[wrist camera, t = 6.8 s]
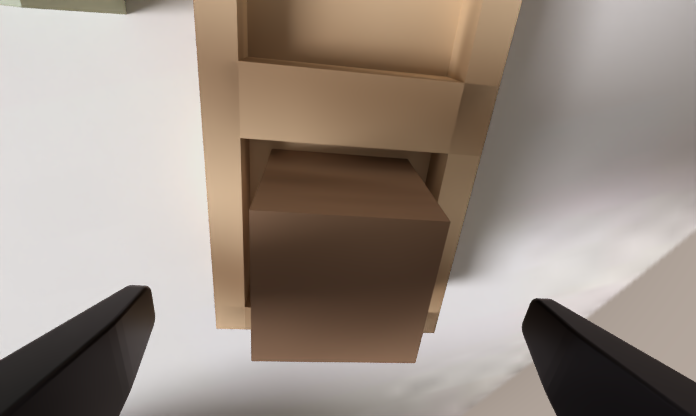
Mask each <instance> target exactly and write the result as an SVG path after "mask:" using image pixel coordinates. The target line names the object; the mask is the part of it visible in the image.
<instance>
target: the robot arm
mask: <svg viewBox="0 0 696 416" xmlns="http://www.w3.org/2000/svg"><path fill="white" fill-rule="evenodd" d="M154 322H155V311H154V305H153V299H152V293H151V289H150V288H149V287H148V286H141V285H129V286H127V287H125V288H123V289H121V290H120V291H118V292H116V293H115V294H113V295H111V296H109V297H108V298H106V299H104V300H103V301H101V302H99V303H97V304H96V305H94V306H92V307H91V308H89V309H87V310H85V311H84V312H82V313H80V314H79V315H77V316H75V317H73V318H72V319H70V320H68V321H67V322H65V323H63V324H61V325H60V326H58V327H56V328H55V329H53V330H51V331H49V332H48V333H46V334H44V335H43V336H41V337H39V338H37V339H36V340H34V341H32V342H31V343H29V344H27V345H25V346H24V347H22V348H20V349H19V350H17V351H15V352H13V353H12V354H10V355H8V356H7V357H5V358H3V359H1V360H0V416H119V415H120V412H121V410H122V408H123V406H124V404H125V402H126V400H127V397H128V395H129V393H130V391H131V388H132V385H133V383H134V380H135V377H136V375H137V372H138V369H139V366H140V363H141V360H142V357H143V355H144V352H145V349H146V346H147V343H148V340H149V338H150V335H151V332H152V329H153V326H154ZM522 332H523V335H524V338H525V341H526V343H527V346H528V349H529V351H530V354H531V356H532V359H533V362H534V364H535V367H536V369H537V372H538V375H539V377H540V380H541V383H542V385H543V387H544V390H545V392H546V394H547V396H548V399H549V401H550V403H551V405H552V407H553V409H554V411H555V413H556V415H557V416H696V382H694V381H692V380H691V379H689V378H687V377H685V376H684V375H682V374H680V373H679V372H677V371H675V370H673V369H672V368H670V367H668V366H666V365H665V364H663V363H661V362H660V361H658V360H656V359H654V358H652V357H651V356H649V355H647V354H646V353H644V352H642V351H640V350H639V349H637V348H635V347H633V346H632V345H630V344H628V343H627V342H625V341H623V340H621V339H620V338H618V337H616V336H614V335H613V334H611V333H609V332H607V331H606V330H604V329H602V328H601V327H599V326H597V325H595V324H593V323H592V322H590V321H588V320H587V319H585V318H583V317H581V316H580V315H578V314H576V313H574V312H573V311H571V310H569V309H568V308H566V307H564V306H562V305H561V304H559V303H557V302H555V301H554V300H552V299H541V298H536V299H533V300H532V301H531V303H530V305H529V308H528V310H527V313H526V315H525V318H524V320H523V323H522Z"/></svg>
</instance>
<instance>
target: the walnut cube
mask: <svg viewBox="0 0 696 416" xmlns="http://www.w3.org/2000/svg"><path fill="white" fill-rule="evenodd" d="M450 222H451V221H450V220H449V218H448V217H447V216H446V214H445V213H444V211H443V210H442V208H441V207H440V205H439V204H438V202H437V201H436V200H435V198H434V197H433V195H432V194H431V192H430V191H429V189H428V188H427V187H426V185H425V184H424V182H423V181H422V179H421V178H420V176H419V175H418V173H417V172H416V171H415V169H414V168H413V166H412V165H411V163H410V162H409V160H408V159H403V158H389V157H376V156H363V155H350V154H336V153H323V152H310V151H296V150H283V149H272V150H271V153H270V156H269V158H268V161H267V164H266V166H265V169H264V172H263V174H262V177H261V180H260V183H259V185H258V188H257V191H256V193H255V196H254V199H253V201H252V204H251V207H250V209H249V229H250V296H251V361H286V362H370V363H415V362H416V358H417V354H418V350H419V346H420V342H421V338H422V334H423V330H424V326H425V322H426V318H427V314H428V310H429V306H430V302H431V298H432V294H433V290H434V286H435V282H436V278H437V274H438V270H439V266H440V262H441V258H442V254H443V250H444V246H445V242H446V238H447V234H448V230H449V226H450Z"/></svg>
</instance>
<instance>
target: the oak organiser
mask: <svg viewBox="0 0 696 416" xmlns="http://www.w3.org/2000/svg"><path fill="white" fill-rule="evenodd" d="M521 3H522V0H193V4H194V18H195V32H196V46H197V60H198V75H199V89H200V103H201V117H202V131H203V145H204V159H205V173H206V187H207V201H208V215H209V229H210V244H211V258H212V272H213V286H214V300H215V314H216V328H217V329H251V296H250V229H249V209H250V207H251V204H252V201H253V199H254V196H255V193H256V191H257V188H258V185H259V183H260V180H261V177H262V174H263V172H264V169H265V166H266V164H267V161H268V158H269V156H270V153H271V150H272V149H283V150H296V151H310V152H323V153H336V154H350V155H363V156H376V157H389V158H403V159H408V160H409V162H410V163H411V165H412V166H413V168H414V169H415V171H416V172H417V173H418V175H419V176H420V178H421V179H422V181H423V182H424V184H425V185H426V187H427V188H428V189H429V191H430V192H431V194H432V195H433V197H434V198H435V200H436V201H437V202H438V204H439V205H440V207H441V208H442V210H443V211H444V213H445V214H446V216H447V217H448V218H449V220H450V221H451V222H450V226H449V230H448V234H447V238H446V242H445V246H444V250H443V254H442V258H441V262H440V266H439V270H438V274H437V278H436V282H435V286H434V290H433V294H432V298H431V302H430V306H429V310H428V314H427V318H426V322H425V326H424V330H423V333H434V331H435V328H436V324H437V320H438V316H439V313H440V309H441V305H442V301H443V297H444V294H445V290H446V286H447V282H448V279H449V275H450V271H451V267H452V263H453V260H454V256H455V252H456V248H457V245H458V241H459V237H460V233H461V229H462V226H463V222H464V218H465V214H466V211H467V207H468V203H469V199H470V196H471V192H472V188H473V184H474V180H475V177H476V173H477V169H478V165H479V162H480V158H481V154H482V150H483V146H484V143H485V139H486V135H487V131H488V128H489V124H490V120H491V116H492V112H493V109H494V105H495V101H496V97H497V94H498V90H499V86H500V82H501V79H502V75H503V71H504V67H505V63H506V60H507V56H508V52H509V48H510V45H511V41H512V37H513V33H514V29H515V26H516V22H517V18H518V14H519V11H520V7H521Z"/></svg>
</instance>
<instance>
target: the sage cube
mask: <svg viewBox="0 0 696 416" xmlns="http://www.w3.org/2000/svg"><path fill="white" fill-rule="evenodd" d="M0 5H4V6H13V7H23V8H38V9H53V10H68V11H83V12H98V13H113V14H127V13H126V5H125V0H0Z"/></svg>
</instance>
